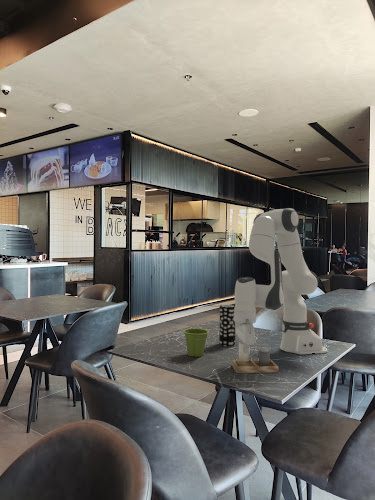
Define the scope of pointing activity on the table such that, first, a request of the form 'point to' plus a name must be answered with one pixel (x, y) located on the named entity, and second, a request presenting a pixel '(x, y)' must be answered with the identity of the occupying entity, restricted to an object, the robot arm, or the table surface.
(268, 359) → the pepper shaker
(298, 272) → the robot arm
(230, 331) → the spotted tube
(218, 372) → the table surface
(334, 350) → the table surface
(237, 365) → the caddy
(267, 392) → the table surface
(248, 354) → the salt shaker
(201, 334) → the plant pot
